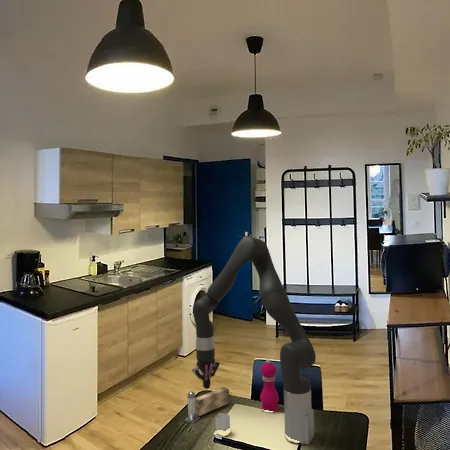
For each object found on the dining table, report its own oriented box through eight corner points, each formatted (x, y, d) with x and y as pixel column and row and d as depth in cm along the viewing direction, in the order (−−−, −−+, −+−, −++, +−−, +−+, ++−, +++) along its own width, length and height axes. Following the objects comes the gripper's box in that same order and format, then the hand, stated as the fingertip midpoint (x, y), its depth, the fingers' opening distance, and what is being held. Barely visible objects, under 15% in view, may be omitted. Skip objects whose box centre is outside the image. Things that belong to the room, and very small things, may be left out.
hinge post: (199, 418, 165) (198, 390, 165) (193, 423, 162) (192, 395, 161) (190, 415, 167) (189, 388, 167) (184, 420, 164) (183, 392, 163)
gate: (199, 416, 165) (198, 400, 165) (195, 413, 167) (194, 398, 167) (229, 403, 175) (229, 388, 174) (225, 400, 177) (224, 386, 176)
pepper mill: (278, 414, 166) (276, 363, 165) (259, 413, 168) (257, 362, 166) (279, 405, 173) (278, 356, 172) (261, 404, 175) (260, 355, 174)
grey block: (230, 432, 155) (230, 414, 154) (225, 437, 151) (225, 419, 151) (221, 429, 157) (220, 411, 156) (215, 434, 153) (215, 416, 153)
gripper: (212, 340, 184) (213, 380, 185) (186, 348, 176) (188, 390, 177) (223, 344, 178) (225, 386, 179) (197, 353, 170) (199, 396, 171)
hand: (206, 388), depth 178 cm, fingers closed
